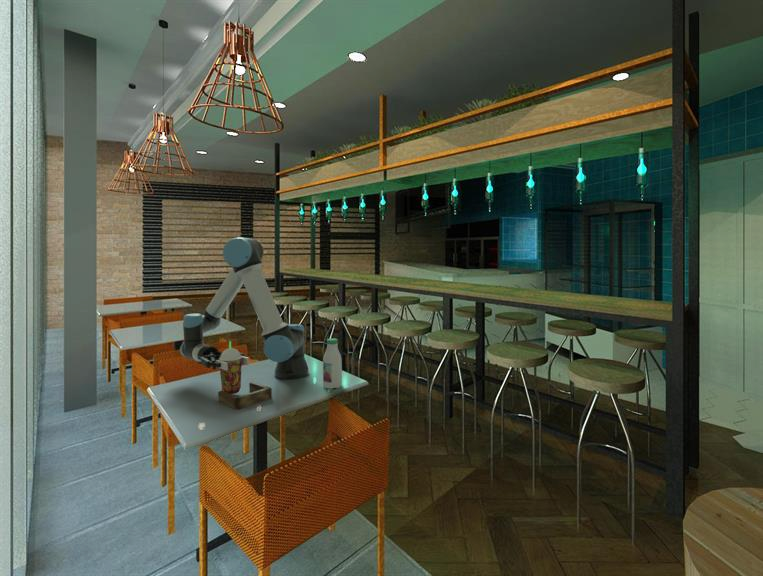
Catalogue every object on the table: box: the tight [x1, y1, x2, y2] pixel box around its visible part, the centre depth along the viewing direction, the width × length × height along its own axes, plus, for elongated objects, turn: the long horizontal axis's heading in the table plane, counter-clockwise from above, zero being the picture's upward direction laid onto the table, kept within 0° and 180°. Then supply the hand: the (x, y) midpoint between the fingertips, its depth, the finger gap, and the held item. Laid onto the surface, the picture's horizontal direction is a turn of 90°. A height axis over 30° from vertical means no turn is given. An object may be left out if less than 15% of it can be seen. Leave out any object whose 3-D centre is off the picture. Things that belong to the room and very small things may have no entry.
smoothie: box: [219, 341, 243, 395], centre depth 159 cm, size 8×8×20 cm
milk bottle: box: [322, 337, 343, 390], centre depth 171 cm, size 8×8×20 cm
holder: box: [217, 381, 273, 411], centre depth 155 cm, size 15×12×4 cm
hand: (237, 363), depth 156 cm, fingers closed on smoothie, 8 cm apart
